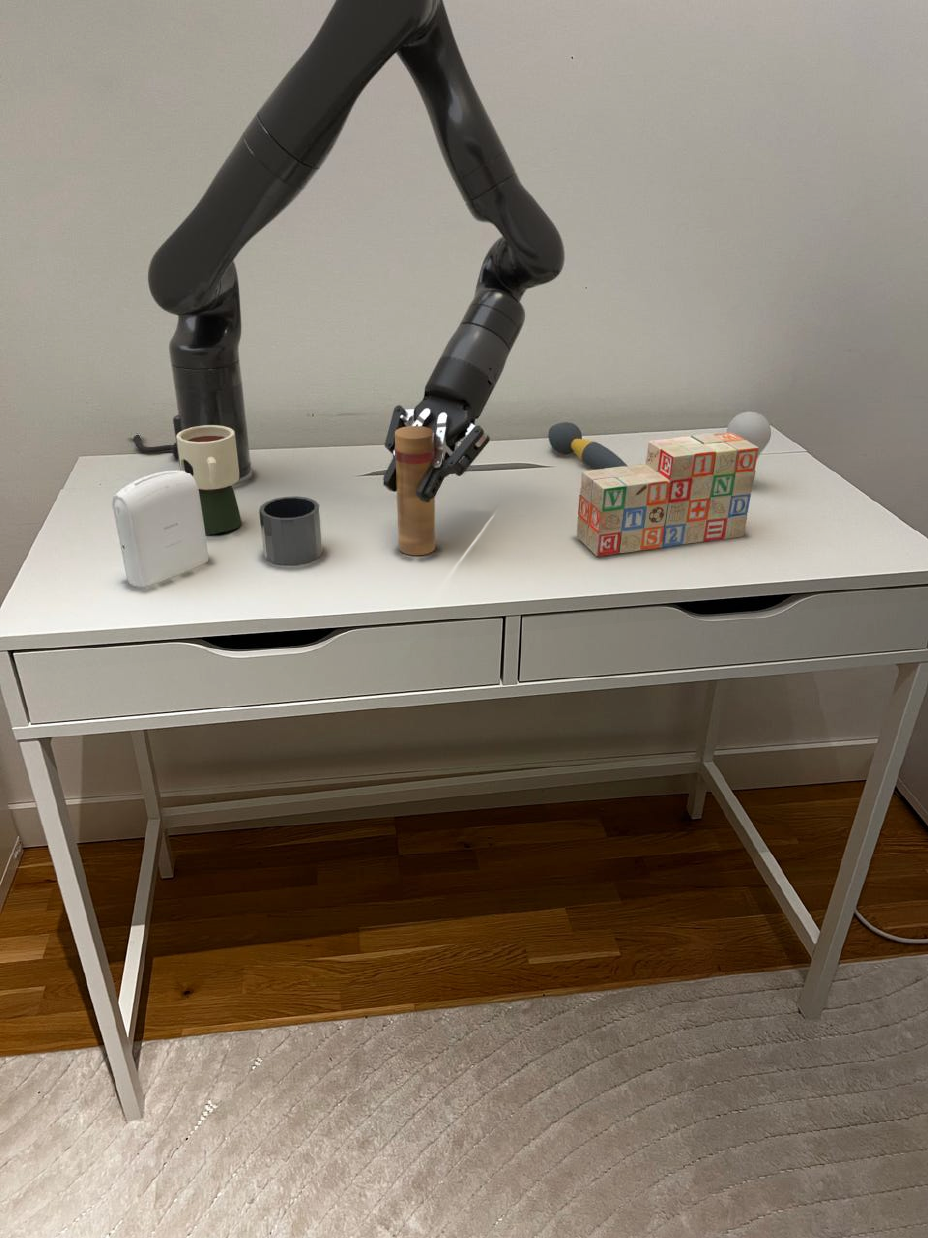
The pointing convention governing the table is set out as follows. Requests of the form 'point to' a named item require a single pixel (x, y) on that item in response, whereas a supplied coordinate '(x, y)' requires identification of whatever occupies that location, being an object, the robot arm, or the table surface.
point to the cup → (291, 530)
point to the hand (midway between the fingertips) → (405, 493)
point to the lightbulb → (751, 429)
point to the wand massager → (582, 447)
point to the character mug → (212, 473)
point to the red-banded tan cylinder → (414, 490)
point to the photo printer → (160, 527)
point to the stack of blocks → (669, 495)
